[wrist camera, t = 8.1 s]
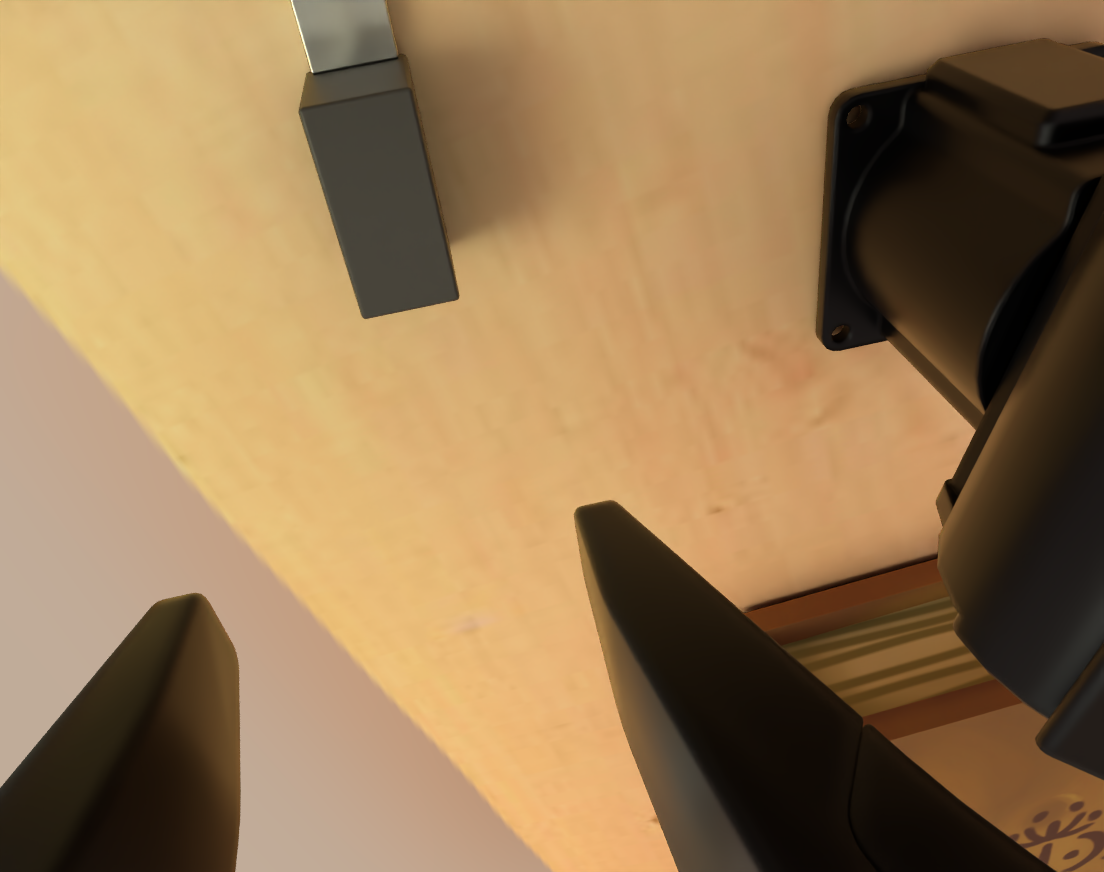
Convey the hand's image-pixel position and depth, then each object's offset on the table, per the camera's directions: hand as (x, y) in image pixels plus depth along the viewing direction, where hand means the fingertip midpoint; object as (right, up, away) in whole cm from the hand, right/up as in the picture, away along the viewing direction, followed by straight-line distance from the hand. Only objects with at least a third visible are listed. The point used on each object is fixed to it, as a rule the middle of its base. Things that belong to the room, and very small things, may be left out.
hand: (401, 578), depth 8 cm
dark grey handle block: (-2, +9, +8) cm, 12 cm away
